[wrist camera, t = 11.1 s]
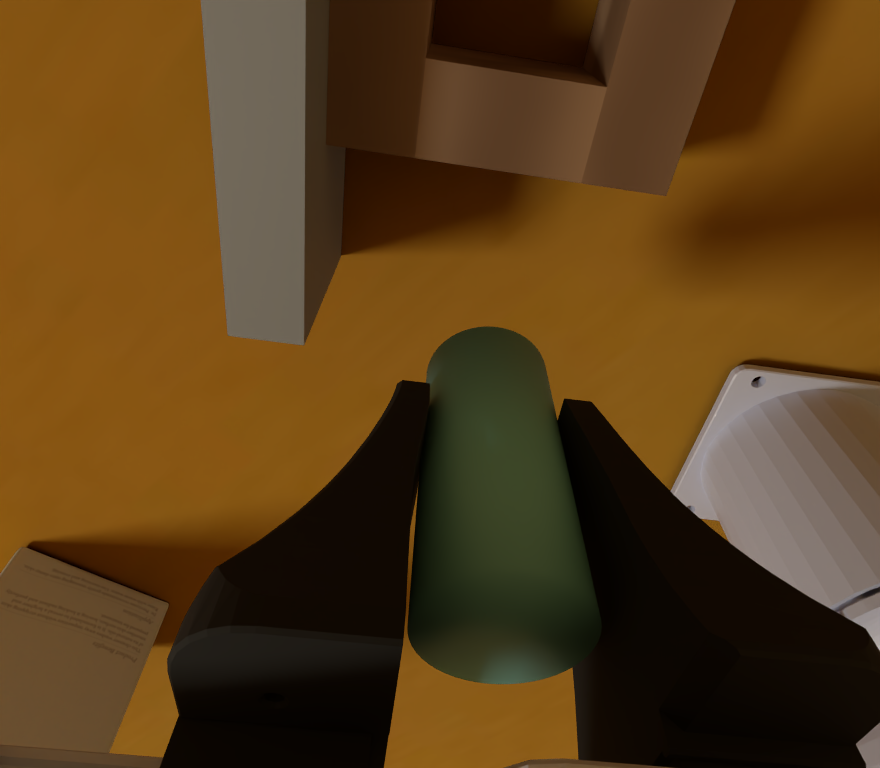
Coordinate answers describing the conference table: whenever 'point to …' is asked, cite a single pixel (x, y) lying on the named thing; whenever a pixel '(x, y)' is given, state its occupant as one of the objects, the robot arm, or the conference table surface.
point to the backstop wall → (273, 163)
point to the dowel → (497, 521)
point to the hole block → (525, 92)
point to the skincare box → (69, 653)
